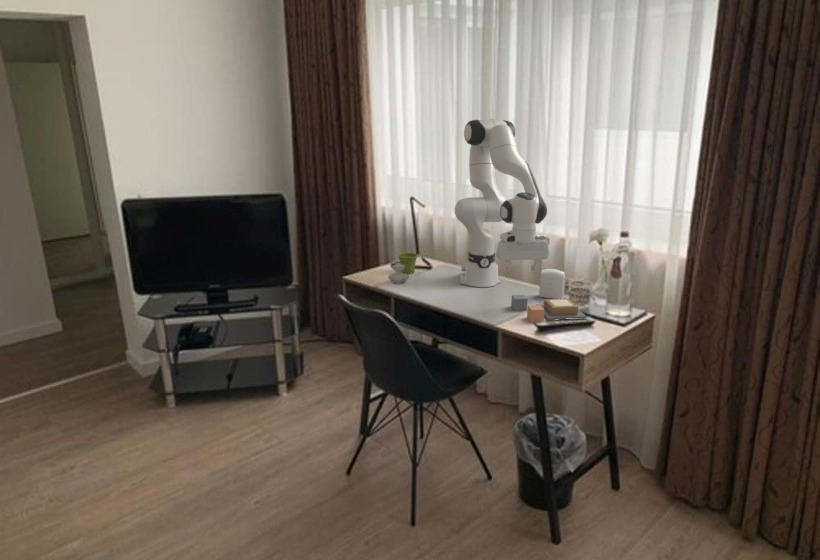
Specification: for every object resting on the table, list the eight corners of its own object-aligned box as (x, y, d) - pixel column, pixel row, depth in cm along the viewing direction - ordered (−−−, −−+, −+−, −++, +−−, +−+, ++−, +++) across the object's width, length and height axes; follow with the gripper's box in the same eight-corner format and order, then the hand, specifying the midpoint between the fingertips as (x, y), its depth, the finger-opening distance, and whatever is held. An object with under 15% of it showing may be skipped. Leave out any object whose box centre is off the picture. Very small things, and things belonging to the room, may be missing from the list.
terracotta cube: (526, 317, 229) (527, 305, 227) (539, 317, 229) (540, 305, 228) (530, 322, 224) (531, 310, 223) (543, 322, 225) (544, 309, 223)
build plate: (535, 307, 240) (536, 297, 239) (571, 306, 242) (572, 296, 240) (548, 320, 226) (548, 309, 225) (586, 319, 227) (587, 308, 226)
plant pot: (407, 276, 280) (407, 258, 278) (393, 272, 287) (393, 254, 284) (421, 272, 286) (421, 255, 284) (408, 268, 293) (408, 251, 290)
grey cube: (511, 306, 241) (511, 295, 239) (523, 306, 241) (523, 294, 240) (514, 311, 236) (515, 299, 235) (526, 310, 237) (527, 298, 235)
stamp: (410, 283, 270) (410, 265, 268) (401, 286, 266) (401, 268, 263) (396, 279, 276) (396, 261, 274) (386, 282, 271) (386, 264, 269)
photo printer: (537, 297, 252) (539, 269, 249) (539, 294, 256) (542, 266, 252) (562, 300, 248) (564, 272, 245) (564, 297, 252) (566, 269, 248)
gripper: (547, 233, 234) (544, 267, 238) (496, 234, 232) (494, 269, 236) (552, 236, 228) (550, 271, 232) (500, 238, 226) (498, 273, 230)
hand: (521, 270), depth 234 cm, fingers open, 8 cm apart
